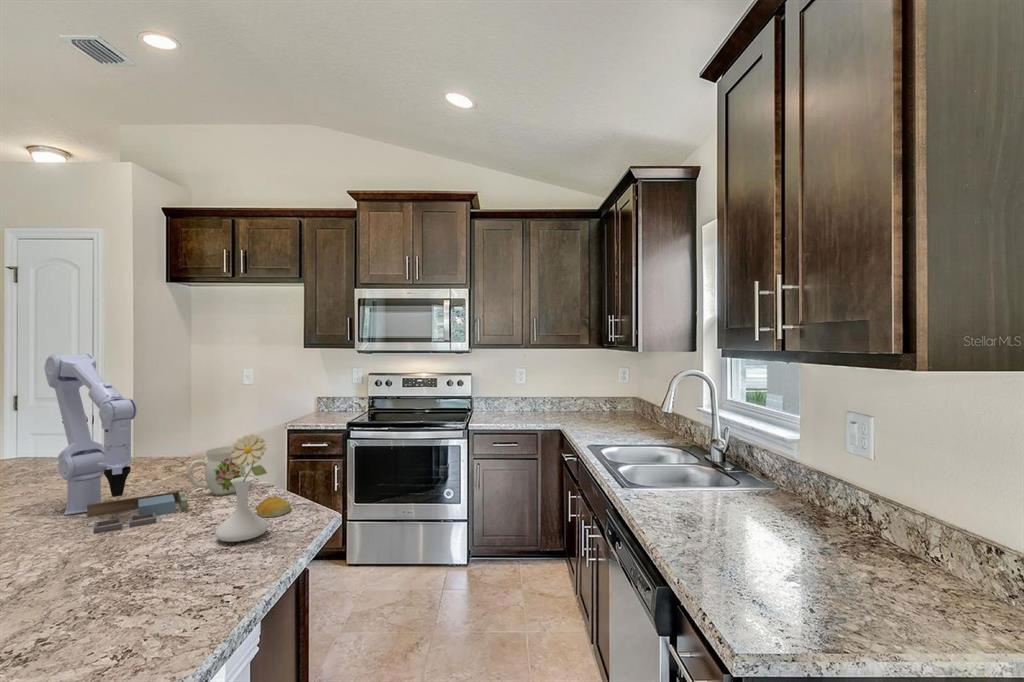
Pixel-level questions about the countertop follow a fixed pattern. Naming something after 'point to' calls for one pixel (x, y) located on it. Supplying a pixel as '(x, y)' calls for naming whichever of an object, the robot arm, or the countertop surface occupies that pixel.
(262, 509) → the bread roll
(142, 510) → the slate block
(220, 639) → the countertop surface
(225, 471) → the pitcher
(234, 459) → the flower in vase
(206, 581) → the countertop surface
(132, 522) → the grey double frame
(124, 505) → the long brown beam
